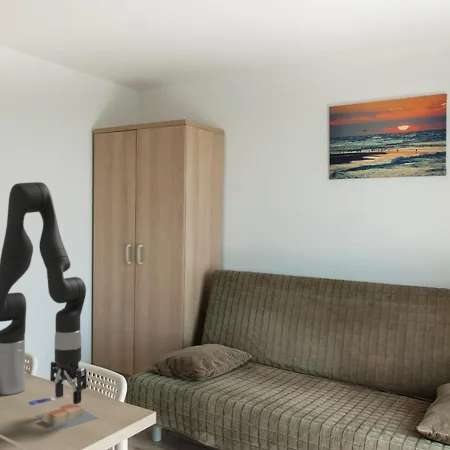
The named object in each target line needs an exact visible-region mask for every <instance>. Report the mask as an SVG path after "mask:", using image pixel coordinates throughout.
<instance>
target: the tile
mask: <svg viewBox="0 0 450 450" xmlns="http://www.w3.org/2000/svg"><path fill="white" fill-rule="evenodd" d="M83 409H84V407H83V406H81V405H78V404H74V403H73V402H70V403H67V404H64V405H61V406H58V407H55V408H53V409H52V408H51V409H50V410H47V411H44V412H42V414H43V421H44V422H46V423H49V424H51V425H53V426H55V425H58V424H60V423H63V422H66V421H68V420H71V419H74V418H76V417H79V416H82V415H83ZM43 421H42V422H43ZM44 422H43V423H44ZM46 423H45V424H46Z"/></svg>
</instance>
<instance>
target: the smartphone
mask: <svg viewBox="0 0 450 450" xmlns="http://www.w3.org/2000/svg"><path fill="white" fill-rule="evenodd" d="M70 396H73V392H72V393H71V392H70V393H69V392H68V393H65V394H64V393H63V396H62V397H59V398H57V397H56V395H55V396H49V397H45V398H40V399H35V400H31V401H27V404H28V405H29V406H30V407H31V406H36V405H39V404H43V403H47V402H51V401H55V400H59V399H63V398H66V397H70Z"/></svg>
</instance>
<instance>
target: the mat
mask: <svg viewBox="0 0 450 450" xmlns="http://www.w3.org/2000/svg"><path fill="white" fill-rule="evenodd" d="M35 417H36V418H37V419H39V420H40V421H41V422H42V423H43V424H45V425H47V426H49V427H50V428H51V429H52V430H54V431H56V432H57V431H61V430H65V429H67V428H71V427H74V426H77V425H80V424H83V423H88V422H91V421H94V420H98V419H99V417H97V416H96V415H93V414H92V413H90V412H88V411H87V410H85V409H84V408H83V415H82V416H79V417H76V418H74V419H71V420H68V421H66V422H63V423H60V424H58V425H55V426H53V425H51V424H49V423H46V422H44V421H43V413H41V414H38V415H35Z"/></svg>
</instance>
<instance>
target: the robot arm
mask: <svg viewBox="0 0 450 450" xmlns="http://www.w3.org/2000/svg"><path fill="white" fill-rule="evenodd" d="M53 201H54V200H53V198H52V194H51V191H50V188H49V187H48V185H46V183H44V182H40V181H39V182H38V181H37V182H36V181H35V182H20V183H15V184H14V185H13V186H11V189H10V191H9V196H8V207H7V218H6V228H5V234H4V240H3V244H2V249H1V254H0V322H10V321H11V322H10V324H9V325H7V326H6V327H4V328H2V329H0V395H6V396H9V395H14V394H15V395H16V394H19V393H21V392H23V391H25V389H26V356H25V355H26V348H25V347H26V343H25V341H26V340H25V336H26V321H27V299H26V296H25V294H23V293H22V292H20V291H19V292H10V291H11V289H12V287H13V286H14V285H15V284H16V283H17V282H18V281H19V280H20V279H21V278H22V277H23V276H24V275H25V273H26V272H27V271H28V270H29V269H30V268H29V267H30V266H31V262H32V258H33V253H34V245H33V243H32V241H31V239H30V236H29V235H28V233H27V231H26V229H25V227H24V223H25V222H24V221H25V216H26V214H28V213H29V214H31V213H39V215H40V216H41V220H42V229H41V235H40V239H39V246H38V247H39V253H40V257H41V259H42V261H43V264H44V266H45V269H46V276H47V277H46V278H47V287H48V288H47V289H48V295H49V296H50V298H51V300H52V301H54V303H57V304H65V305H64V307H63V308H62V309H60V310H59V311H57V312H56V313H55V333H54V335H55V336H54V361H51V362H50V382H53V385H55V386H54V388H55V389H54V391H55V396H56V397H57V398H59V397H62V396H63V394H64V382H65V381H67V382H68V384H69V385H70V386H71V387H72V390H73V391H72V394H73V395H72V401H73V402H72V403H73V404H76V405H78V404H81V402H82V391H84V390H86V389H87V388H88V387H87V386H88V384H87V383H88V382H87V381H88V380H87V369H86V368H85V367H83V368H80V366H79V363H80V362H81V360H82V334H81V314H82V312H83V307H84V303H85V299H86V296H87V286H86V284H85V282H84V280H83V279H82V278H81V277H78V276H73V277H71V276H70V277H64V273H65V272H67V271H68V270H69V269H70V268H71V261H70V258H69V256H68V253H67V250H66V248H65V246H64V242H63V240H62V237H61V234H60V230H59V224H58V219H57V215H56V210H55V206H54V202H53Z"/></svg>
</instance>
